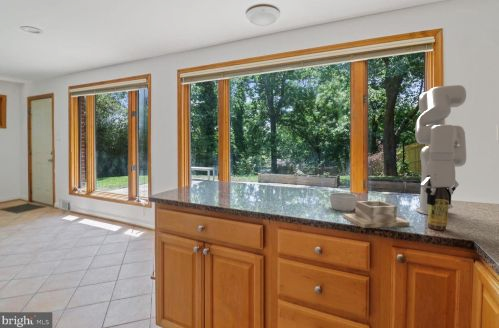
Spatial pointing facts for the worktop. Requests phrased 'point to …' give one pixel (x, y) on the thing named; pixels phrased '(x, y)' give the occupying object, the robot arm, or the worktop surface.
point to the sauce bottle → (439, 210)
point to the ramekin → (343, 201)
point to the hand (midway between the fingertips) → (438, 203)
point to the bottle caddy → (375, 215)
